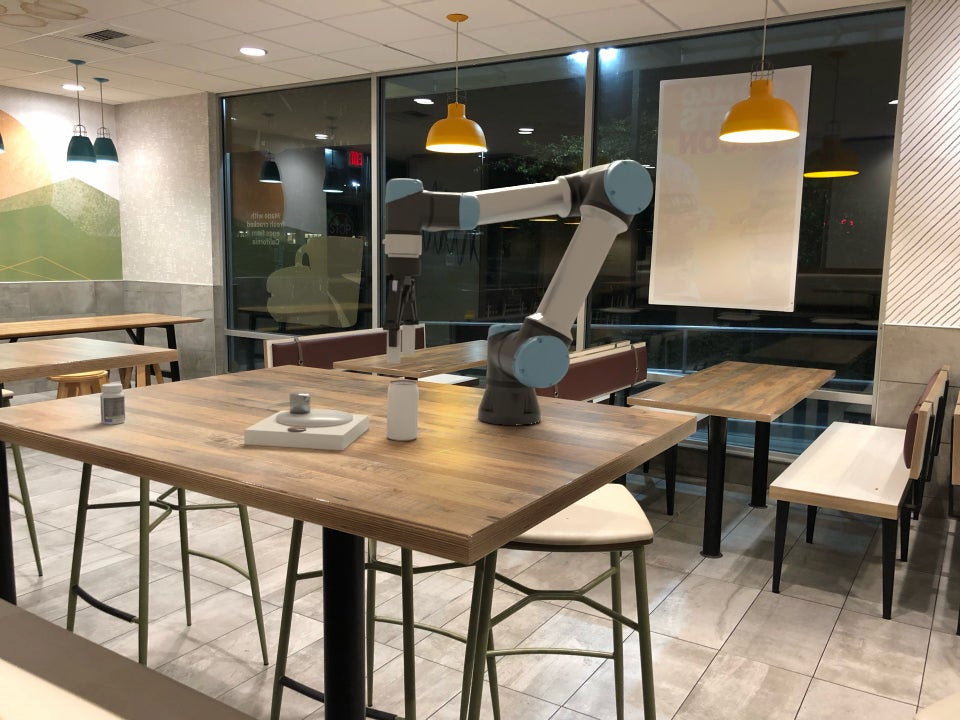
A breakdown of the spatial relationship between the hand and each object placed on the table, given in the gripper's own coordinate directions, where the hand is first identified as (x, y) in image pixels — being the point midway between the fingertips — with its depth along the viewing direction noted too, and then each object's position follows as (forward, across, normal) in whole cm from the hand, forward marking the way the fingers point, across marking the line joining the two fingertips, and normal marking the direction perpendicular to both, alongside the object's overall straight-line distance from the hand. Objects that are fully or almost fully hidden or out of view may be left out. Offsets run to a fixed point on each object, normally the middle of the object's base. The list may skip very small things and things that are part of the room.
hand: (401, 359), depth 156 cm
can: (+17, 0, +1) cm, 17 cm away
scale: (+17, +3, -18) cm, 25 cm away
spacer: (+13, -3, -23) cm, 27 cm away
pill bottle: (+17, +2, -63) cm, 66 cm away
